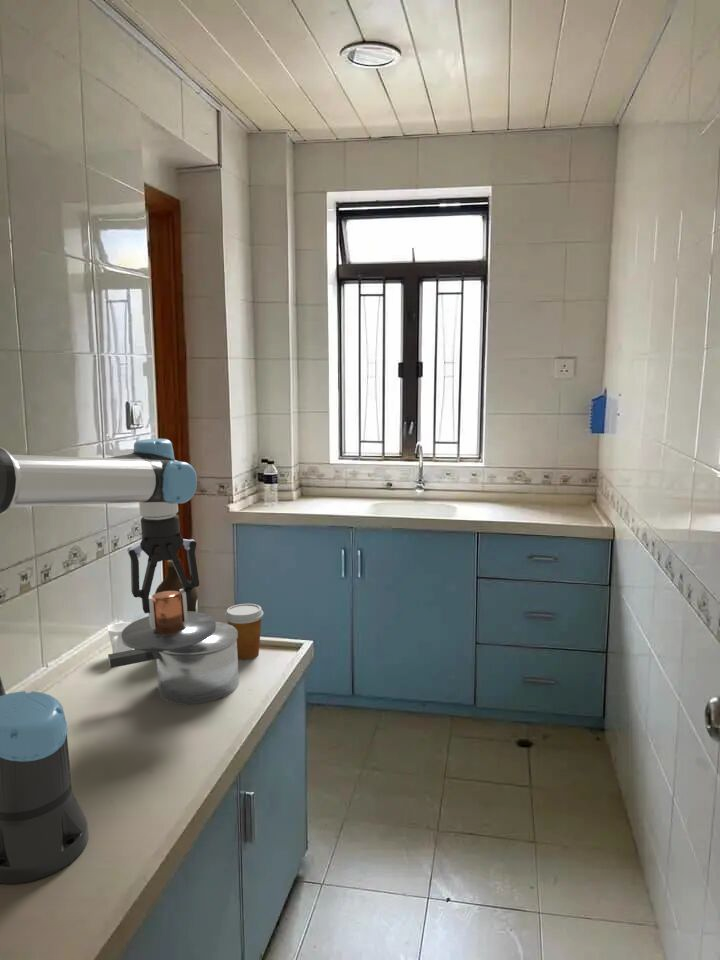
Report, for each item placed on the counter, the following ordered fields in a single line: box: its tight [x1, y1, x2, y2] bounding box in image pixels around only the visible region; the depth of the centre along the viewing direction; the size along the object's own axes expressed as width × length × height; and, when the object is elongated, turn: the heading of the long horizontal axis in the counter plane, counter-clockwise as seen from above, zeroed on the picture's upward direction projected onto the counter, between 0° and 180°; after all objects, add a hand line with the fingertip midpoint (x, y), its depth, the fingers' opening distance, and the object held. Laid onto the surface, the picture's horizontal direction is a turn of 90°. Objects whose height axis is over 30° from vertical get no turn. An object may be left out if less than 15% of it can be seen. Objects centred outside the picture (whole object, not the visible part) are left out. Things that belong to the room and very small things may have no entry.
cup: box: [107, 621, 134, 654], centre depth 179 cm, size 7×10×8 cm
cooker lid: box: [121, 591, 217, 651], centre depth 147 cm, size 19×19×8 cm
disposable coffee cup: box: [224, 603, 264, 660], centre depth 180 cm, size 10×10×12 cm
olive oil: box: [154, 558, 199, 612], centre depth 179 cm, size 11×11×25 cm
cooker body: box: [107, 621, 240, 705], centre depth 160 cm, size 28×19×12 cm, turn 116°
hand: (168, 623), depth 148 cm, fingers closed on cooker lid, 6 cm apart
